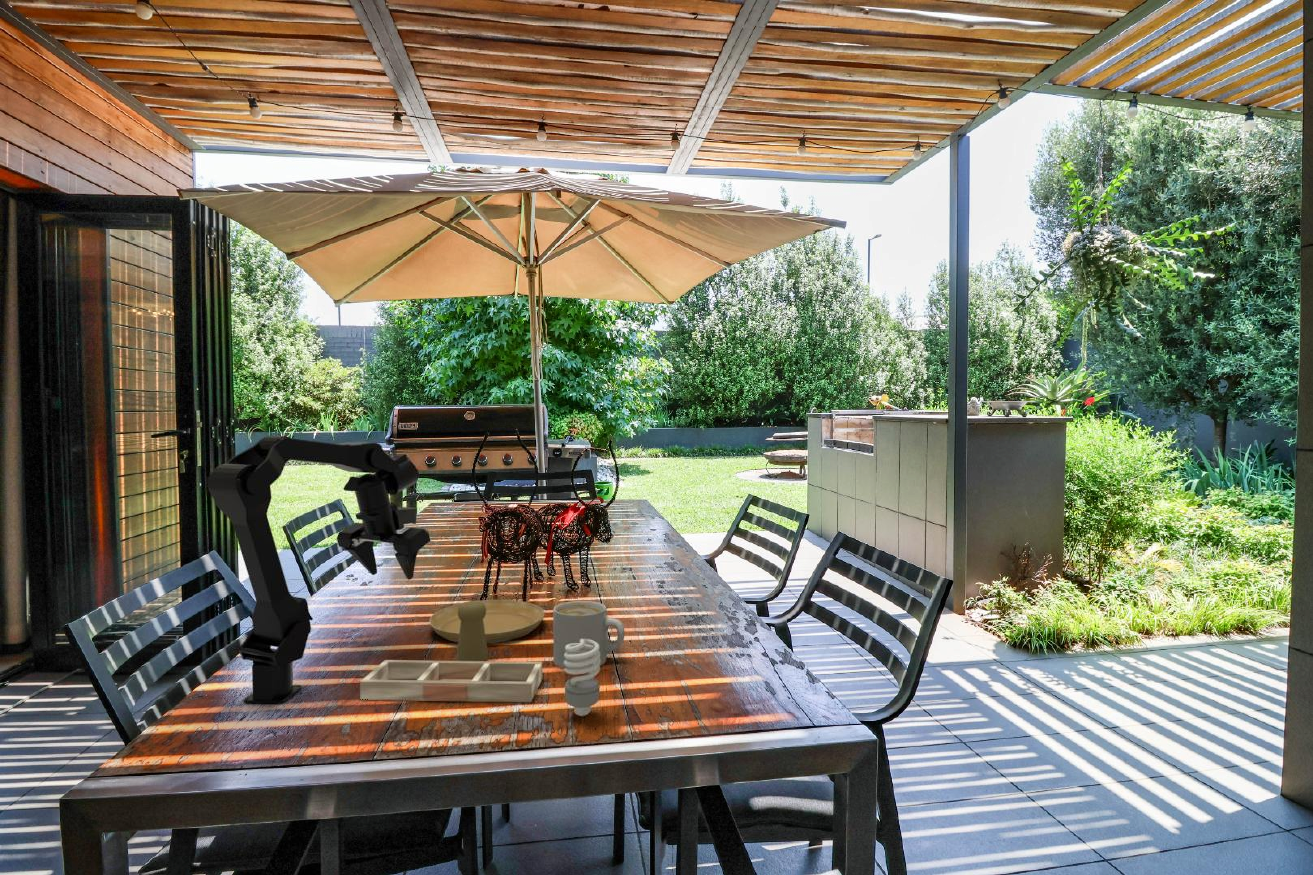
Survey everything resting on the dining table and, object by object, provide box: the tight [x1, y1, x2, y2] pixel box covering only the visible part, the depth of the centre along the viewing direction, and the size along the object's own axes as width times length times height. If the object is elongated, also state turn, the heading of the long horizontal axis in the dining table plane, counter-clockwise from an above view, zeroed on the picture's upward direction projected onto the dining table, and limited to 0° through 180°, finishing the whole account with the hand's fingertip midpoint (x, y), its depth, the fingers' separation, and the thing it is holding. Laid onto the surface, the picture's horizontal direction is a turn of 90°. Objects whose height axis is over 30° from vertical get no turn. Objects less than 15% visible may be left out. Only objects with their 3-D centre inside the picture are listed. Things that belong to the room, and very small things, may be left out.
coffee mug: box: [552, 600, 625, 670], centre depth 135 cm, size 13×10×10 cm
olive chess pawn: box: [455, 600, 489, 661], centre depth 136 cm, size 6×6×11 cm
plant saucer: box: [428, 599, 545, 644], centre depth 155 cm, size 24×24×3 cm
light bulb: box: [564, 639, 601, 718], centre depth 111 cm, size 6×6×12 cm
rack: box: [359, 659, 543, 703], centre depth 122 cm, size 10×28×3 cm, turn 89°
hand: (392, 576), depth 143 cm, fingers open, 9 cm apart
